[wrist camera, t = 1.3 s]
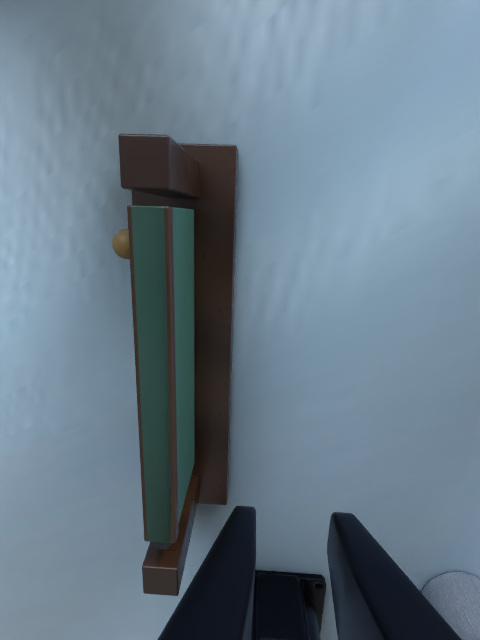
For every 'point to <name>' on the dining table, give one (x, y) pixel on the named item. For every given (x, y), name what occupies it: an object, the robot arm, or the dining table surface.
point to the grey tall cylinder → (457, 602)
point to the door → (162, 358)
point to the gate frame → (195, 312)
